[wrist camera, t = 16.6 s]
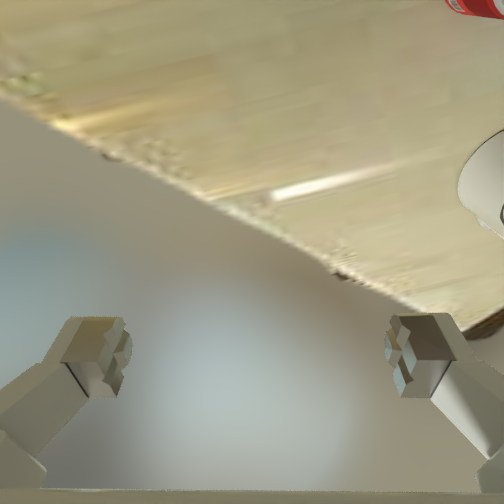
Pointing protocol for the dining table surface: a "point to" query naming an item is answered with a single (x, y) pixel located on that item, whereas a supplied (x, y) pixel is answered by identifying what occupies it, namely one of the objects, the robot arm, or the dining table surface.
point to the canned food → (478, 7)
